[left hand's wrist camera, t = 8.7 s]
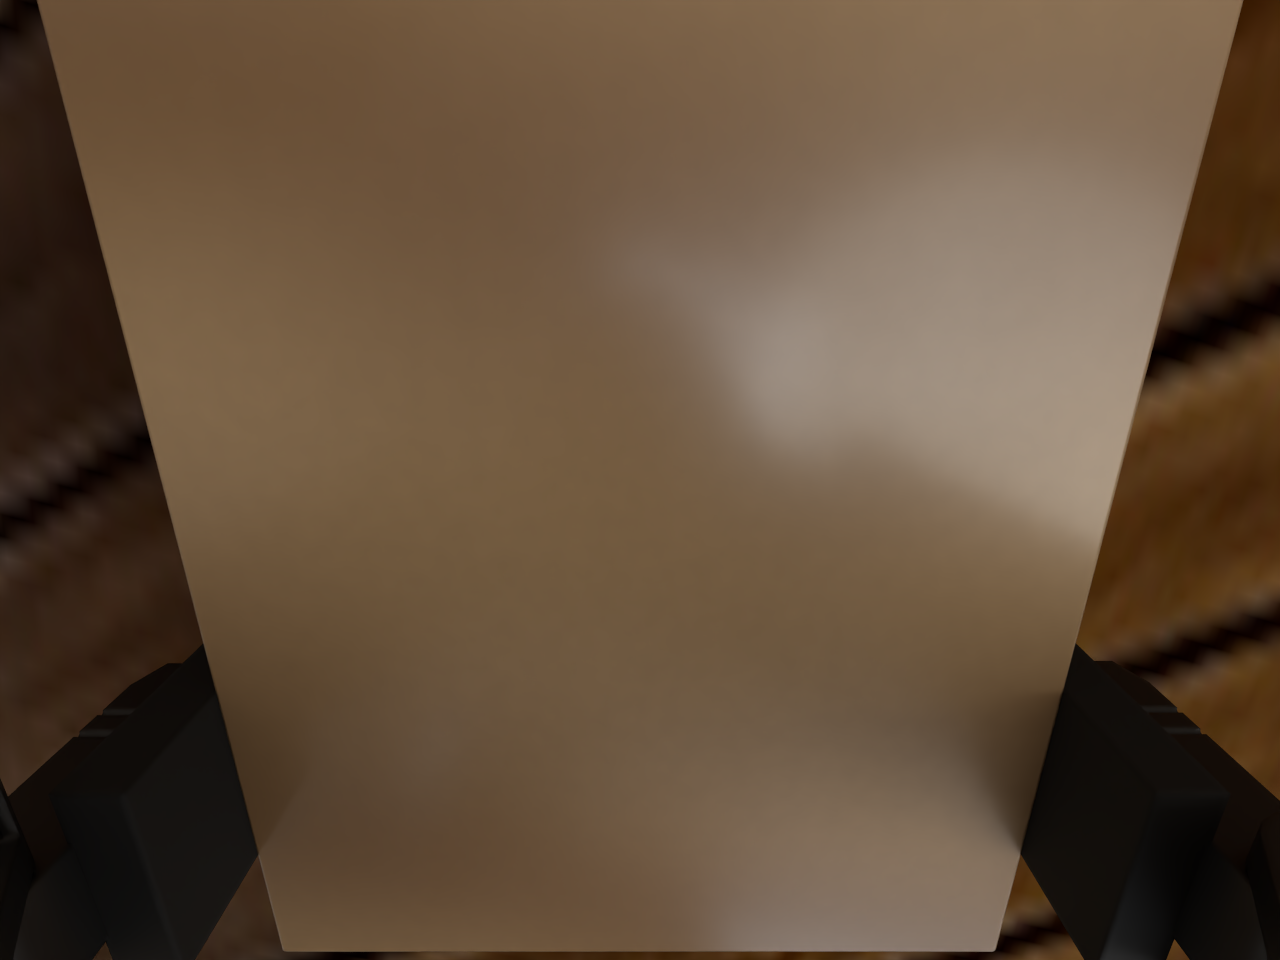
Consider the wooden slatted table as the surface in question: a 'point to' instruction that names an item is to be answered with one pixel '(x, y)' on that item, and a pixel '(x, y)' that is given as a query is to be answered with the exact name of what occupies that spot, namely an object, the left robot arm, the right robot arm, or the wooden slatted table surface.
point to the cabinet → (639, 435)
